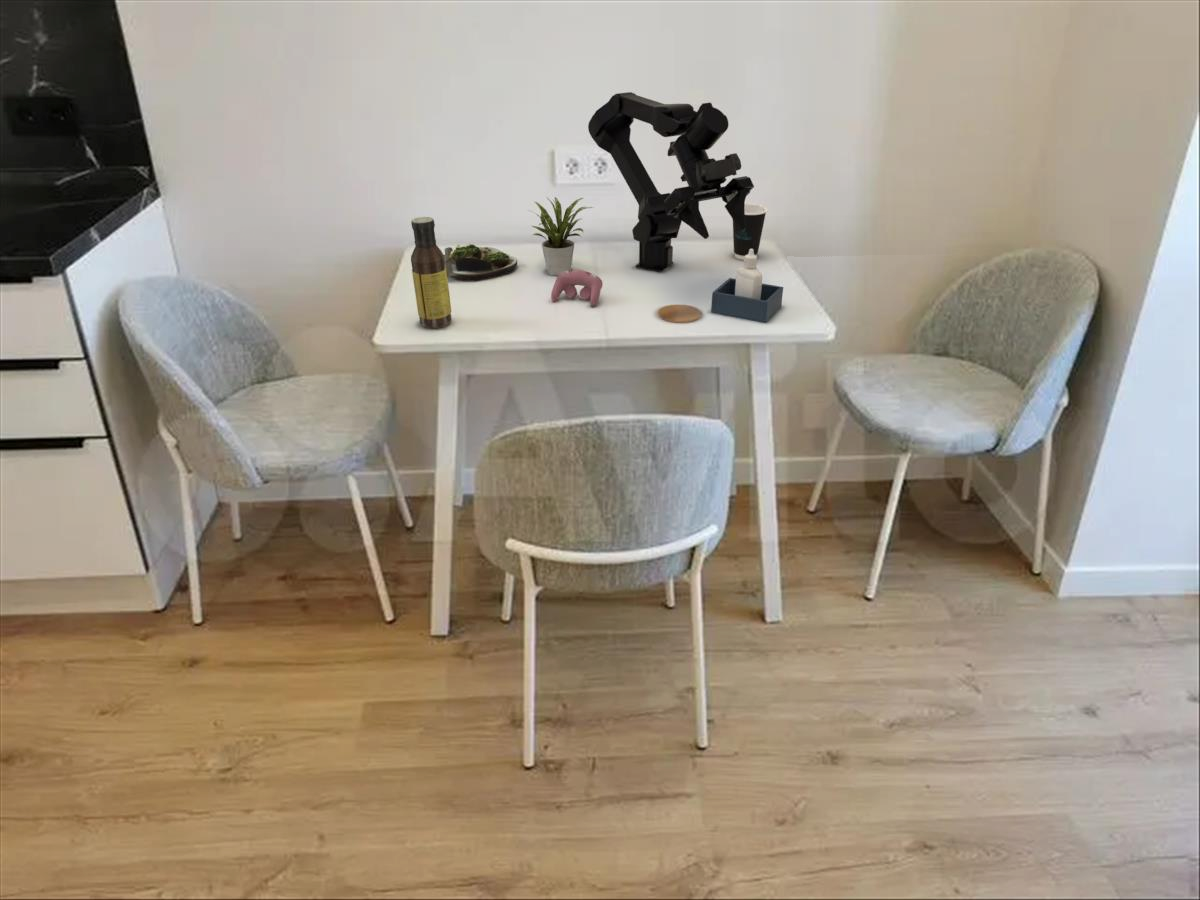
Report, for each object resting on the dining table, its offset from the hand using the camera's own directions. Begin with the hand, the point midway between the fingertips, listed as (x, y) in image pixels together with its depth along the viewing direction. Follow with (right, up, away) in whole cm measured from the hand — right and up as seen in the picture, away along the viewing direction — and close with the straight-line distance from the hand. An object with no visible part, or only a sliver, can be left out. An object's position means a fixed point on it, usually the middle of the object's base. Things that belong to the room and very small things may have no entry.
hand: (725, 233), depth 172 cm
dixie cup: (+9, +2, +29) cm, 30 cm away
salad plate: (-52, -2, +23) cm, 57 cm away
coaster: (-9, -16, -1) cm, 18 cm away
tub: (+4, -15, +1) cm, 15 cm away
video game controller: (-29, -12, +6) cm, 32 cm away
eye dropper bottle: (+4, -15, +1) cm, 15 cm away
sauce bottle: (-56, -18, -4) cm, 59 cm away
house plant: (-32, -3, +21) cm, 39 cm away
